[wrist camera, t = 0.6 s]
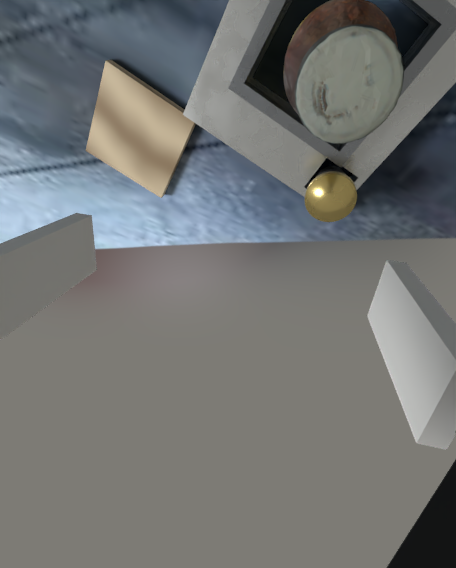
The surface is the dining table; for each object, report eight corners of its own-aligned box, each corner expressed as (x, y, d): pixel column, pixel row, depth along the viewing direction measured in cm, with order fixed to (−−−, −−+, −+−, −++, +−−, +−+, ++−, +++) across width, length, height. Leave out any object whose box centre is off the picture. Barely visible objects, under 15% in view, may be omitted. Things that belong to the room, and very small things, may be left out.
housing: (325, -210, 20) (324, -252, 17) (535, -21, 22) (566, -28, 19) (191, 109, 33) (177, 118, 30) (332, 205, 36) (332, 222, 33)
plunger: (327, 149, 30) (326, 164, 27) (364, 175, 31) (368, 193, 28) (298, 186, 33) (294, 204, 30) (333, 210, 34) (333, 230, 30)
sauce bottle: (283, 83, 30) (235, 145, 15) (309, -6, 26) (278, -46, 11) (352, 104, 29) (374, 189, 14) (389, 17, 25) (473, 10, 10)
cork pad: (111, 59, 32) (105, 60, 31) (198, 118, 33) (195, 121, 33) (90, 148, 38) (85, 150, 38) (164, 194, 40) (161, 197, 39)
